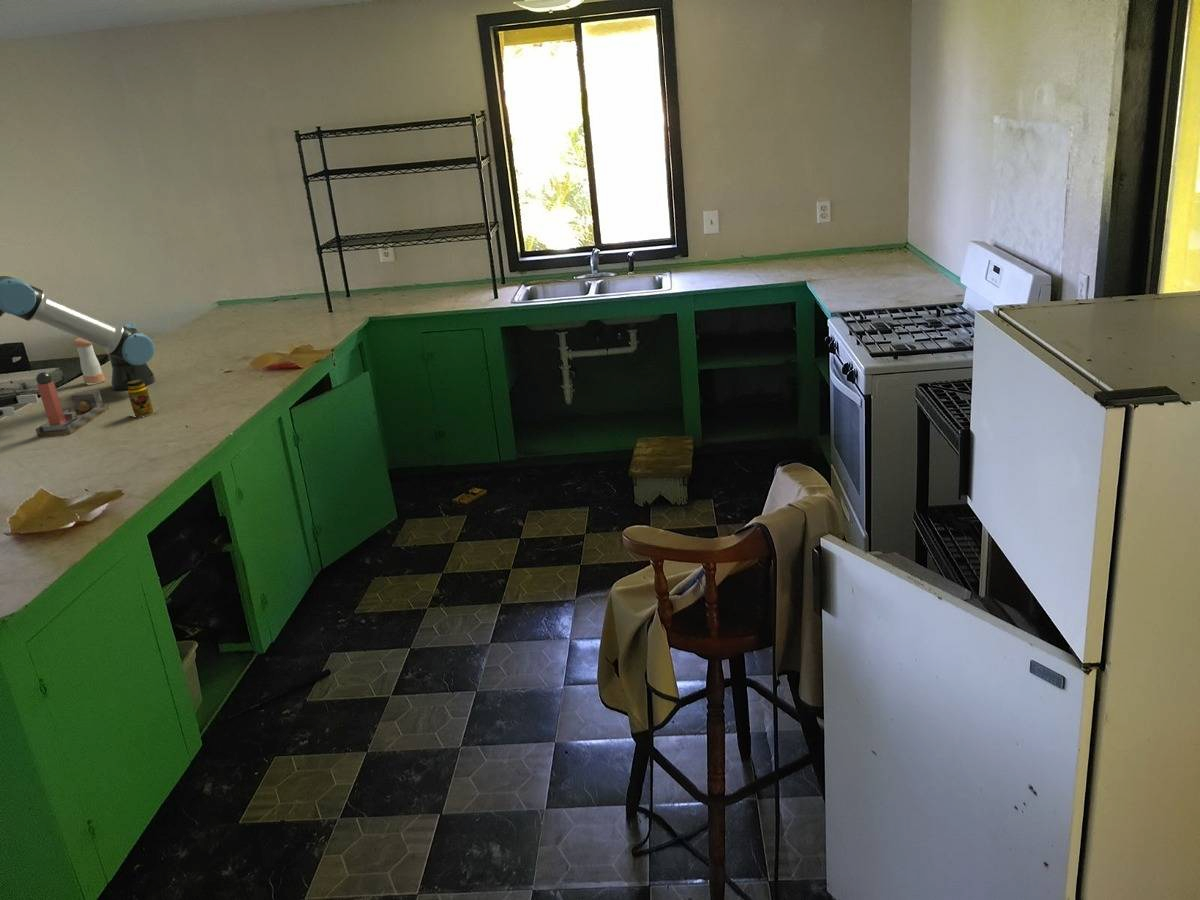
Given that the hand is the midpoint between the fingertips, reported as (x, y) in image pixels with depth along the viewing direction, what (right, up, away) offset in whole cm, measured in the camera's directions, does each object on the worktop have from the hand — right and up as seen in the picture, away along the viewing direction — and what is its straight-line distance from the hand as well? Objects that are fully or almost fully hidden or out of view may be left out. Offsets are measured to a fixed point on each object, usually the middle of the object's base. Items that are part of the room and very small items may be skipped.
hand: (25, 404), depth 309 cm
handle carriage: (+9, -7, +5) cm, 12 cm away
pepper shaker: (-10, +12, +62) cm, 64 cm away
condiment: (+32, -3, +14) cm, 35 cm away
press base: (+9, -6, +12) cm, 16 cm away
